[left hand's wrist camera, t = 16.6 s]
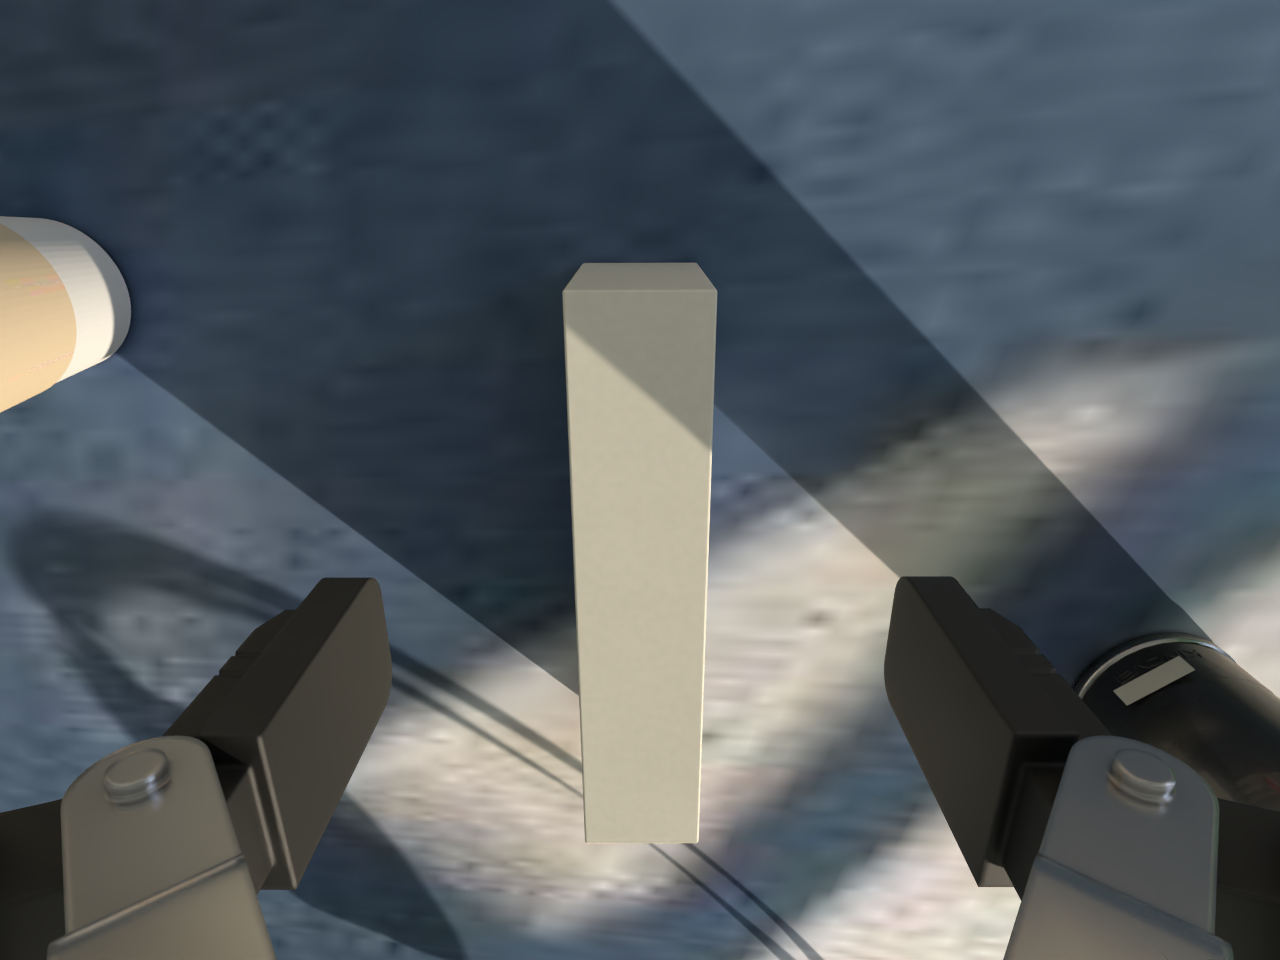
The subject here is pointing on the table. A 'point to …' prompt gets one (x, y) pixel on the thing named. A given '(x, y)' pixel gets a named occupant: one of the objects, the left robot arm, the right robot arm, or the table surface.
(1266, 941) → the left robot arm
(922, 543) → the table surface
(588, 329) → the bar
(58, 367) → the coffee cup
